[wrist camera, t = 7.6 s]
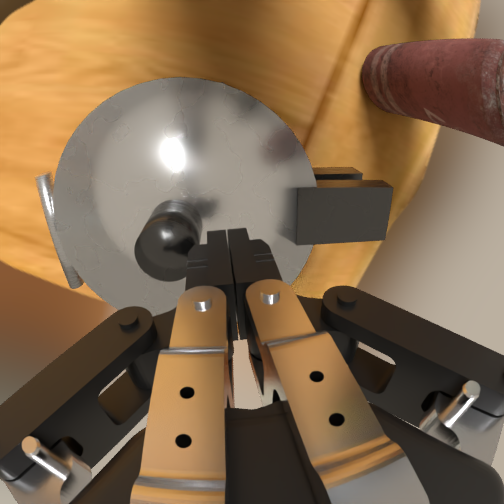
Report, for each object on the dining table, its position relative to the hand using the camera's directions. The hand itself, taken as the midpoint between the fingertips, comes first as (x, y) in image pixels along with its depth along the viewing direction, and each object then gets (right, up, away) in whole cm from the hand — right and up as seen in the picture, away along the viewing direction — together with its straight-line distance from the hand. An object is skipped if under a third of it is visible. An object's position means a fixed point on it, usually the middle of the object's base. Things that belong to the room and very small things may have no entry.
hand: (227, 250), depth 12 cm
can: (+13, +15, +8) cm, 21 cm away
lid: (-1, +2, +3) cm, 4 cm away
